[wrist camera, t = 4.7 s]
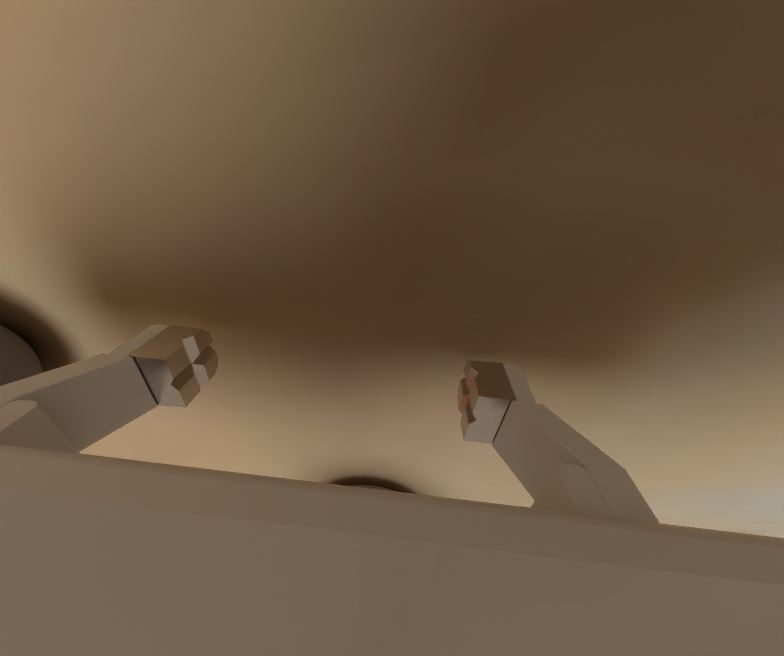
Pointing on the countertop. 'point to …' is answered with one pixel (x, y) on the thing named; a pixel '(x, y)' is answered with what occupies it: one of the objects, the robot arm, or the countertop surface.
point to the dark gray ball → (16, 358)
